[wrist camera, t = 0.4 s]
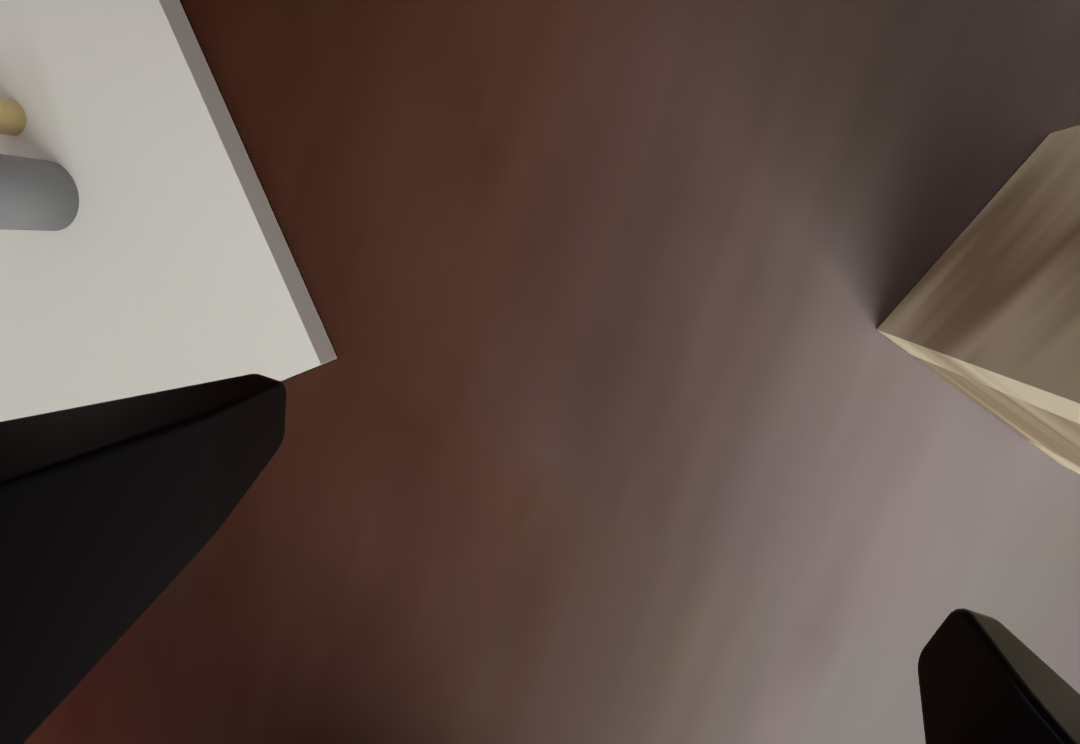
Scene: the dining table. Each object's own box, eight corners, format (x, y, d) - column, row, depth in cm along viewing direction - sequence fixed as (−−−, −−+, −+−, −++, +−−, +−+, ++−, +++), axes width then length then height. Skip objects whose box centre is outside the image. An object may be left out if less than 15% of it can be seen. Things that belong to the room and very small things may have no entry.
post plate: (337, 358, 23) (250, 389, 18) (50, 475, 26) (-93, 529, 21) (114, -148, 21) (-54, -271, 16) (-170, 45, 24) (-386, -8, 19)
